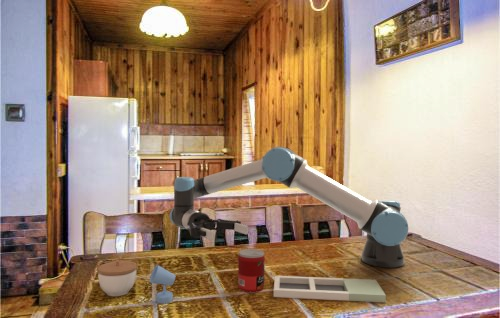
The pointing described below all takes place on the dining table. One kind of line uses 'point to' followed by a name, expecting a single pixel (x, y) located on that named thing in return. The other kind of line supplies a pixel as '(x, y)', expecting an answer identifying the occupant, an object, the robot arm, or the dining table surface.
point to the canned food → (251, 270)
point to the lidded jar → (117, 277)
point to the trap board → (328, 288)
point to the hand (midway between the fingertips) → (230, 233)
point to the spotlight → (163, 278)
